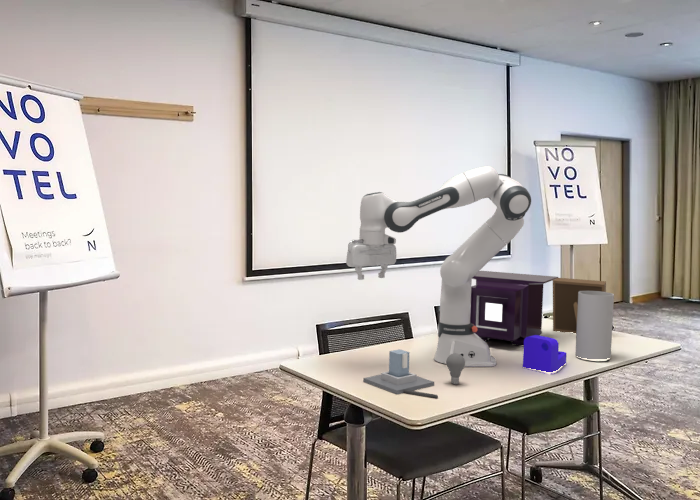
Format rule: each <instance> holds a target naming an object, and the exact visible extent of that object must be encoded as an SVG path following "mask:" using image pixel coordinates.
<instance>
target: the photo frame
mask: <svg viewBox="0 0 700 500" xmlns="http://www.w3.org/2000/svg"><path fill="white" fill-rule="evenodd" d="M579 291H600V292H607V281H605V280H593V279H579V278H570V277H569V278H568V277H567V278H565V277H558V278H557V279H555V280H552V332H557V331H560V332H559V333H565V332H573V333H576V332H577V312H578V292H579ZM573 333H572V334H573Z"/></svg>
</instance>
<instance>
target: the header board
mask: <svg viewBox="0 0 700 500" xmlns="http://www.w3.org/2000/svg"><path fill="white" fill-rule="evenodd" d="M363 383H366V384H368V385H371V386H374V387H377V388H379V389H381V390H385V391H387V392H389V393H392V394H395V395H400V394H405V393H404V392H403V391H404V390H411V391H413V390H414V391H417V389H418V390H420V389H421V388H422V389H425V388H429V387H434V386H435V381H433V380H430V379H427V378H423V377H421V376H418V375H417V374H416V373H412V372H410V371H409V375H408V376H403V377H395V376H392V375H389V370H388V371H384V372H381V373H380V374H377V375H371V376H368V377H367V376H366V377H363ZM422 389H421V390H422Z"/></svg>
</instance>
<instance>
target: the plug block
mask: <svg viewBox="0 0 700 500" xmlns="http://www.w3.org/2000/svg"><path fill="white" fill-rule="evenodd" d="M388 371H389V375H392V376H395V377H403V376H408V375H409V372H410V351H406V350H403V349H399V348H398V349H393V350H389V357H388Z"/></svg>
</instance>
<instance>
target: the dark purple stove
mask: <svg viewBox="0 0 700 500" xmlns="http://www.w3.org/2000/svg"><path fill="white" fill-rule="evenodd" d="M557 278H559V276H554V275H553V276H551V275H542V274H541V275H539V274H529V273H514V272H504V271H501V272H500V271H492V270H491V271H489V270H480V271H479V272H478V273H477V274H476V275H475V276H474V277H473V278H472V280H475V285H471V308H470V323H472V324H474V325H475V326H476V327H477V329H478V330H477V332H475V334H476V335H478V336H479V337H480V338H481V339H482V340H488V341H490V340H491V339H492V340H499V341H506V342H511V345H512V344H516V345H515V346H518V345H524V339H525V338H526V337H529V336H533V335H539V336H542V334H543V331H542V330H543V329H542V327H543V326H542V325H543V304H544V302H543V300H544V284H546V283H550V282H553V280H555V279H557ZM489 339H490V340H489Z"/></svg>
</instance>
